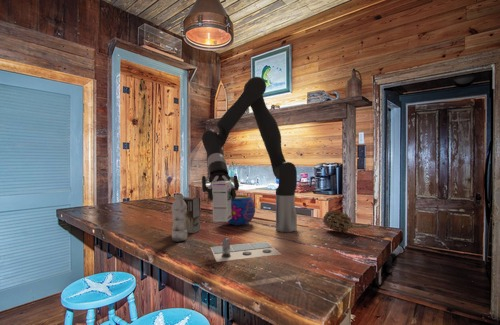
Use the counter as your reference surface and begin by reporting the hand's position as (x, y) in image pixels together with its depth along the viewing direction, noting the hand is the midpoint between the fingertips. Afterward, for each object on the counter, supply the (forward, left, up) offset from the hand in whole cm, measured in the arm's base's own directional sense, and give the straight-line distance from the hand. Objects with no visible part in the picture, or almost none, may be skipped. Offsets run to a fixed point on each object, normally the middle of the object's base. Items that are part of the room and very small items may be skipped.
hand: (222, 198), depth 95 cm
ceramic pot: (-16, -40, -20) cm, 48 cm away
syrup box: (0, -1, -8) cm, 8 cm away
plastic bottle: (+15, -20, -20) cm, 32 cm away
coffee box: (+10, -35, -20) cm, 42 cm away
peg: (0, +6, -19) cm, 20 cm away
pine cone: (-60, -9, -20) cm, 64 cm away
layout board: (-8, +2, -20) cm, 22 cm away
